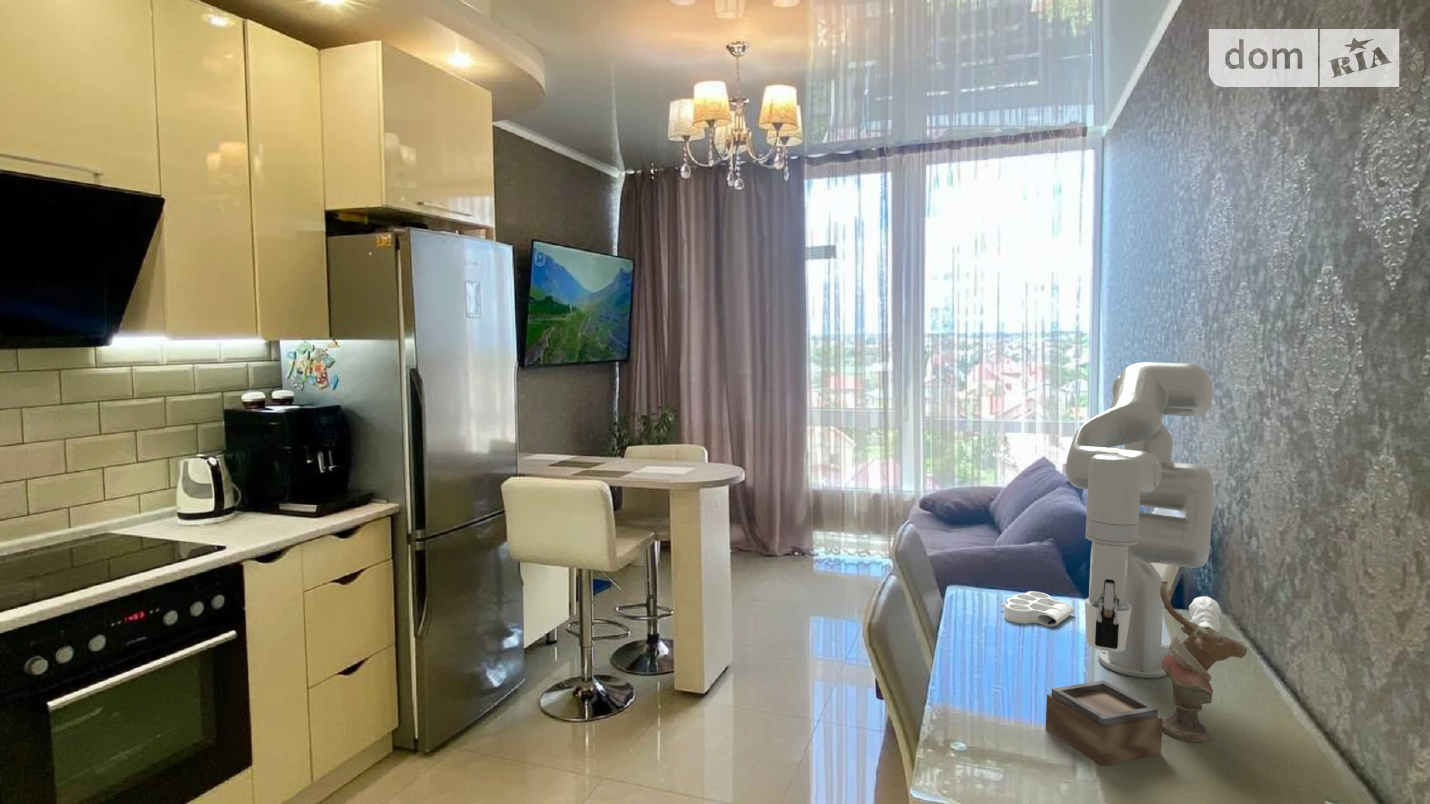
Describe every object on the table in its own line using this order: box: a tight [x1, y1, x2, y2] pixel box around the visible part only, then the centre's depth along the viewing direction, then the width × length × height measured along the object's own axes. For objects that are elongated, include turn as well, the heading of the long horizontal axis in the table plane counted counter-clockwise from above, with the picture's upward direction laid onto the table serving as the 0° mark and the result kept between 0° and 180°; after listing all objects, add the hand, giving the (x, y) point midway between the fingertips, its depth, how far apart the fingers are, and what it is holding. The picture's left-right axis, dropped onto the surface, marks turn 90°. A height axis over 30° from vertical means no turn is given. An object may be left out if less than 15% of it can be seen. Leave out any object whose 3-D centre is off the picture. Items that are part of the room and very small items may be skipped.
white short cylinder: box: [1084, 597, 1132, 652], centre depth 125 cm, size 7×7×7 cm
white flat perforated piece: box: [1000, 590, 1075, 627], centre depth 186 cm, size 3×18×15 cm
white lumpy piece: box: [1188, 595, 1222, 633], centre depth 171 cm, size 6×8×12 cm
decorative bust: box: [1160, 581, 1248, 743], centre depth 129 cm, size 11×13×25 cm
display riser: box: [1045, 680, 1164, 767], centre depth 126 cm, size 12×12×7 cm
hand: (1106, 638), depth 125 cm, fingers closed on white short cylinder, 6 cm apart
